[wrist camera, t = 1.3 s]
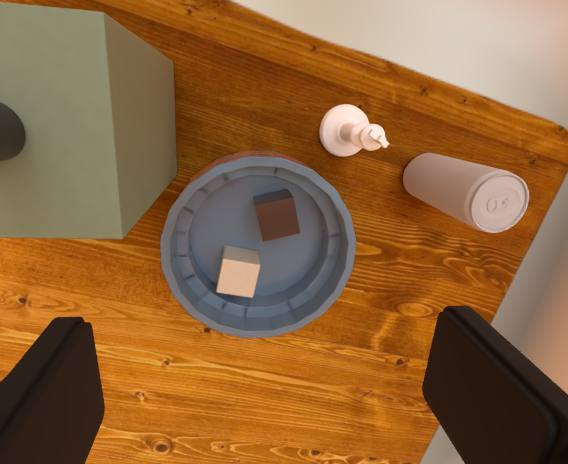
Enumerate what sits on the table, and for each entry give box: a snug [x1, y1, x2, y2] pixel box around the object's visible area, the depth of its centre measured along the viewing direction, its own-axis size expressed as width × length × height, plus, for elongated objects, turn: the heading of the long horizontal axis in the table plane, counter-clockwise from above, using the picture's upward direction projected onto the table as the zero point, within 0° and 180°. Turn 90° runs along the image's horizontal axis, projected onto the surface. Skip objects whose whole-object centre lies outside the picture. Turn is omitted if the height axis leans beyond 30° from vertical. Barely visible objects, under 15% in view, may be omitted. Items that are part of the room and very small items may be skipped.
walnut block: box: [253, 189, 300, 242], centre depth 35 cm, size 4×4×4 cm
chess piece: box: [319, 104, 389, 156], centre depth 31 cm, size 5×5×10 cm
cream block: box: [216, 245, 260, 298], centre depth 36 cm, size 4×4×4 cm
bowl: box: [160, 150, 356, 338], centre depth 35 cm, size 18×18×6 cm
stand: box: [0, 2, 177, 239], centre depth 24 cm, size 10×10×18 cm
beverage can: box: [403, 153, 529, 233], centre depth 33 cm, size 5×5×12 cm
